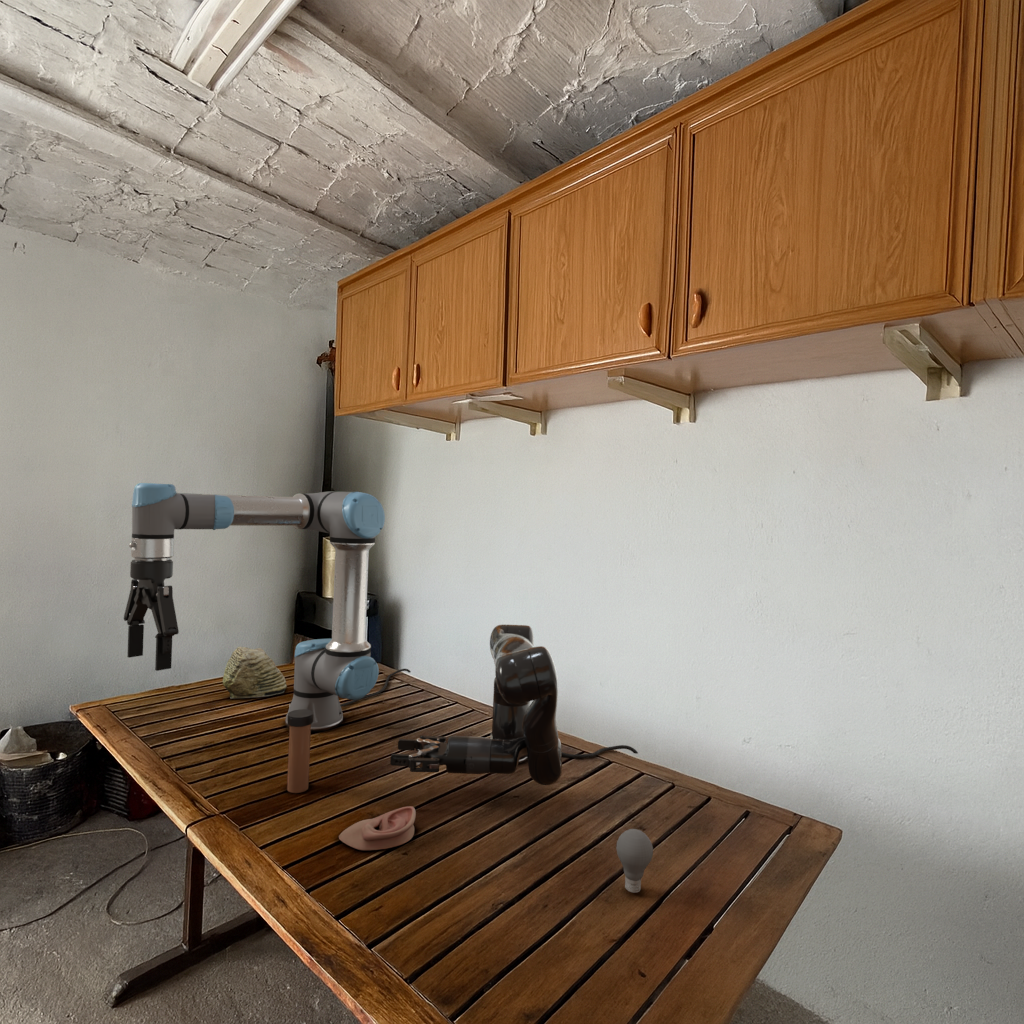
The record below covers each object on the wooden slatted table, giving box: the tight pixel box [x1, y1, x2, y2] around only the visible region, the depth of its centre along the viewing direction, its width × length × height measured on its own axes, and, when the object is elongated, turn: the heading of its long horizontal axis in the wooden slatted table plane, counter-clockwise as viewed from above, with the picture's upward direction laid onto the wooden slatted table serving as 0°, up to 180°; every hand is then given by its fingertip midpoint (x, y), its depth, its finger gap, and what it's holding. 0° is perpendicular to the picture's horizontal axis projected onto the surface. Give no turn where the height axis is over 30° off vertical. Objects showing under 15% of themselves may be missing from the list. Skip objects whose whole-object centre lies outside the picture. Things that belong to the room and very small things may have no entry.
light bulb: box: [615, 828, 654, 894], centre depth 106 cm, size 6×6×10 cm
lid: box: [287, 709, 313, 727], centre depth 137 cm, size 5×5×2 cm
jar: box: [286, 724, 312, 794], centre depth 137 cm, size 4×4×16 cm
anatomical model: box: [338, 805, 417, 851], centre depth 119 cm, size 13×4×12 cm
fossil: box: [222, 646, 288, 699], centre depth 198 cm, size 9×18×15 cm, turn 132°
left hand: (148, 662), depth 129 cm, fingers open, 13 cm apart
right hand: (394, 751), depth 137 cm, fingers open, 8 cm apart
